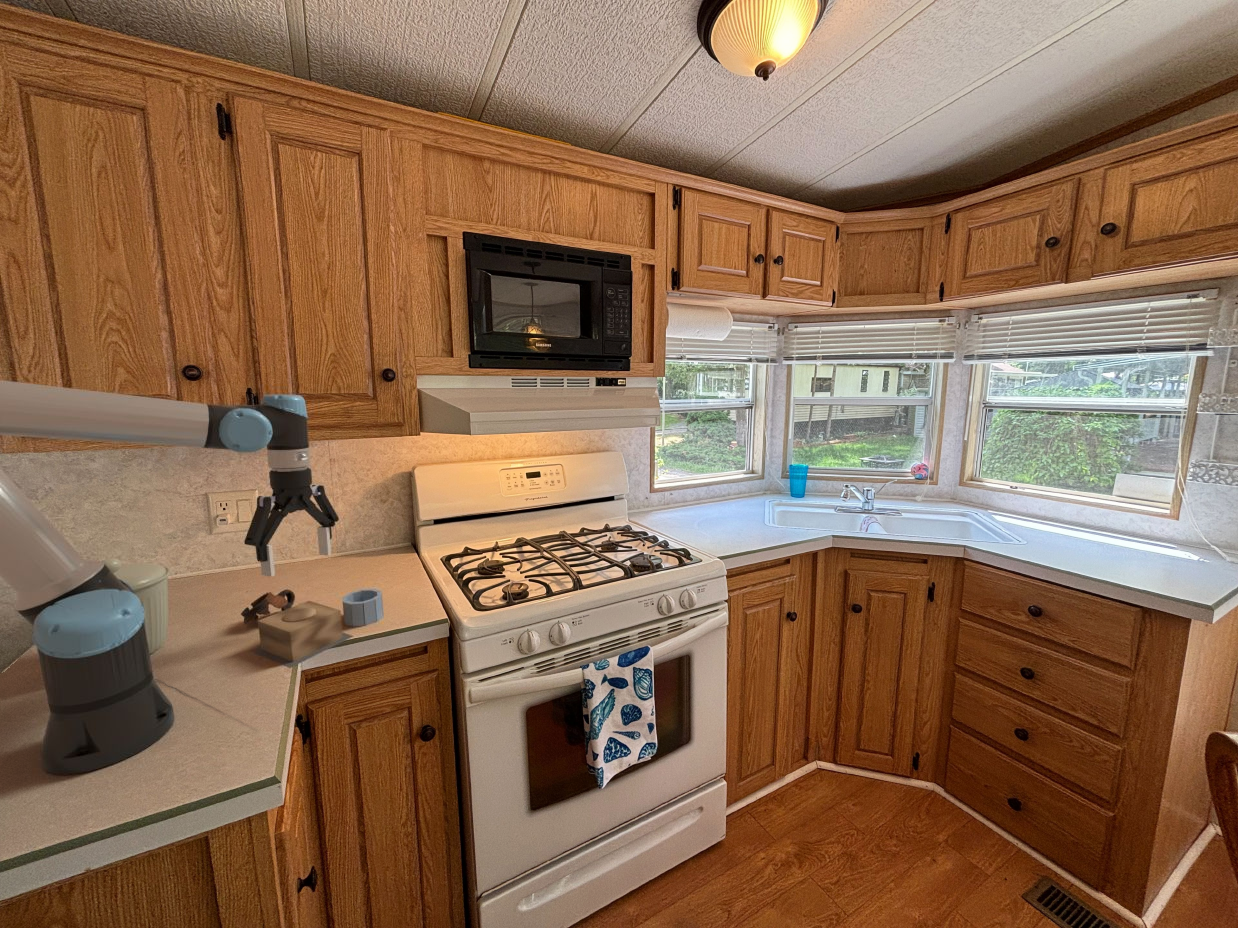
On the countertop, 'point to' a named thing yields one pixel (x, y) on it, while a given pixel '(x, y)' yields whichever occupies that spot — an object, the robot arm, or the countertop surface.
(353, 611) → the faceted blue cup
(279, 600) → the brown jointed arch
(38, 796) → the countertop surface
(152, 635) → the canister
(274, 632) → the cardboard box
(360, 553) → the countertop surface
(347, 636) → the mat
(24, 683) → the countertop surface
